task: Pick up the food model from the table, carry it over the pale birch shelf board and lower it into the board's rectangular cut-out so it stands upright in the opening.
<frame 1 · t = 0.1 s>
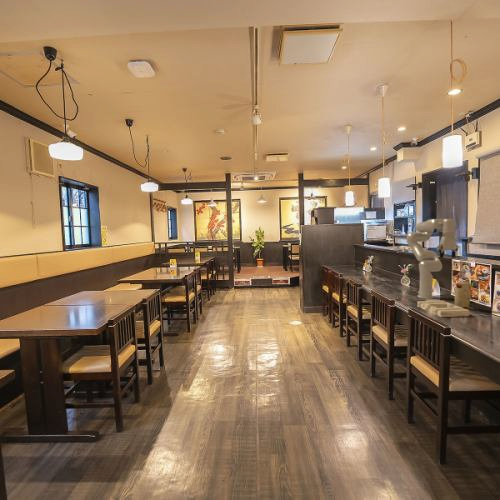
hand: (447, 257, 232), 37 cm above the counter, tool pointing down, fingers open, 9 cm apart
food model: (461, 308, 225), on the counter
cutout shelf: (441, 311, 219), on the counter
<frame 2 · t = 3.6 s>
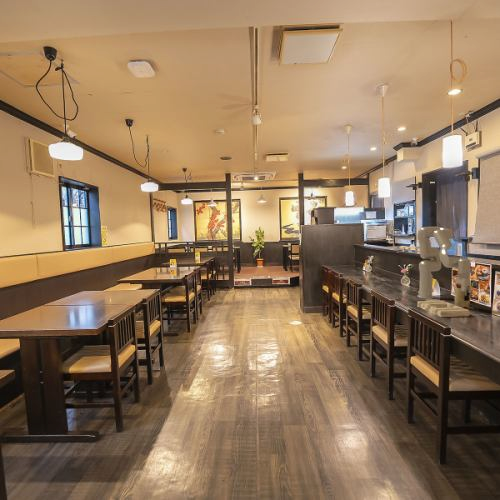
hand: (462, 299, 224), 7 cm above the counter, tool pointing down, fingers closed on food model, 7 cm apart
food model: (461, 308, 225), on the counter, touching gripper
when the fingers open (8 cm above the counter, at t = 11.9 s): food model drops 1 cm, resting in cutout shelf.
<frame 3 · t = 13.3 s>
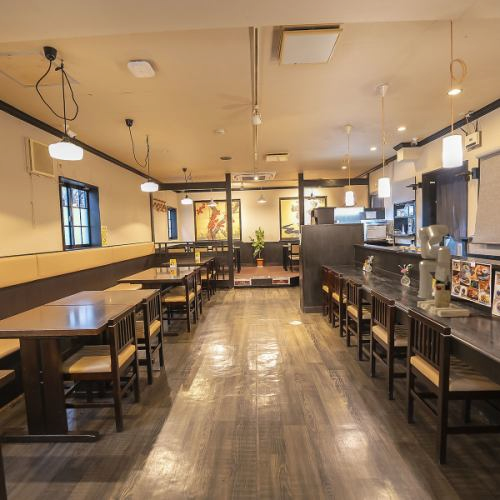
hand: (442, 288, 218), 16 cm above the counter, tool pointing down, fingers open, 9 cm apart
food model: (441, 311, 219), resting in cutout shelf
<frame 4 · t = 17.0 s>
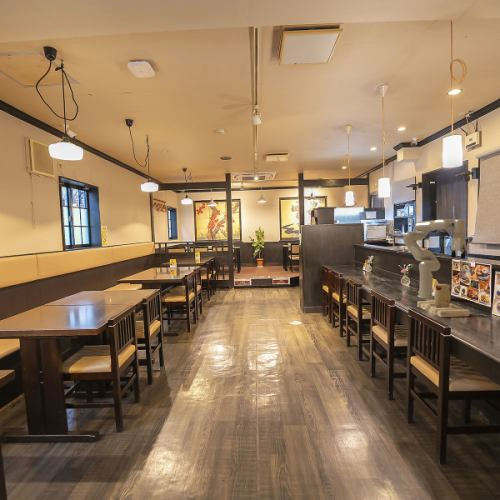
hand: (458, 258, 232), 36 cm above the counter, tool pointing down, fingers open, 9 cm apart
nothing on the counter moved.
at the end: food model 0.2 cm off-centre on the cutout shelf, point 0.0 cm above the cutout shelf's base; food model tilted 0°; the gripper is holding nothing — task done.
